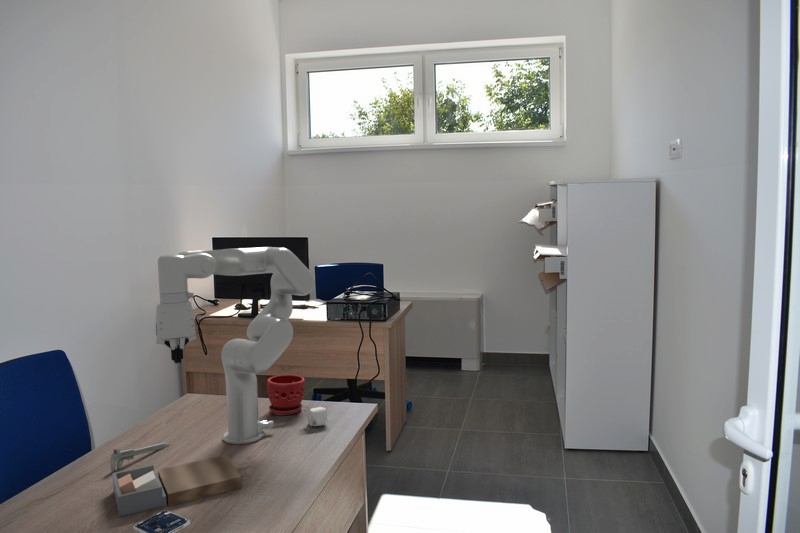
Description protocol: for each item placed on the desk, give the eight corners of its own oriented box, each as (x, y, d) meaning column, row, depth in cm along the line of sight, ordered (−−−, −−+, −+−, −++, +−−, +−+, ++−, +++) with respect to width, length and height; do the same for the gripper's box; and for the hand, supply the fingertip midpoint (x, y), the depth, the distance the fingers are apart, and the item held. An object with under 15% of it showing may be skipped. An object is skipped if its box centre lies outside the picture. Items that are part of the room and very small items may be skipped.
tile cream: (157, 480, 154) (152, 470, 153) (160, 488, 150) (155, 478, 149) (137, 490, 152) (133, 480, 151) (140, 498, 148) (135, 488, 147)
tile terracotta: (130, 473, 150) (117, 479, 149) (132, 481, 146) (119, 487, 145) (137, 490, 151) (125, 496, 150) (139, 498, 147) (127, 504, 146)
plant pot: (295, 419, 204) (294, 385, 203) (261, 415, 208) (260, 382, 207) (311, 406, 217) (310, 374, 216) (279, 403, 221) (278, 372, 220)
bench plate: (226, 465, 168) (225, 454, 168) (241, 487, 155) (241, 476, 154) (158, 480, 159) (158, 469, 159) (168, 505, 146) (168, 494, 145)
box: (157, 481, 159) (156, 463, 158) (166, 505, 146) (165, 485, 145) (113, 491, 153) (112, 473, 153) (119, 517, 141) (117, 497, 140)
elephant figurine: (312, 432, 192) (311, 410, 192) (302, 423, 201) (301, 402, 200) (334, 427, 196) (333, 406, 195) (323, 418, 204) (322, 398, 204)
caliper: (113, 473, 165) (112, 451, 164) (110, 473, 165) (109, 451, 164) (170, 445, 184) (168, 425, 183) (167, 445, 184) (166, 425, 183)
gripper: (198, 294, 174) (201, 355, 176) (143, 299, 167) (147, 363, 169) (204, 297, 168) (207, 361, 170) (147, 302, 160) (151, 369, 162)
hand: (177, 362), depth 169 cm, fingers closed
